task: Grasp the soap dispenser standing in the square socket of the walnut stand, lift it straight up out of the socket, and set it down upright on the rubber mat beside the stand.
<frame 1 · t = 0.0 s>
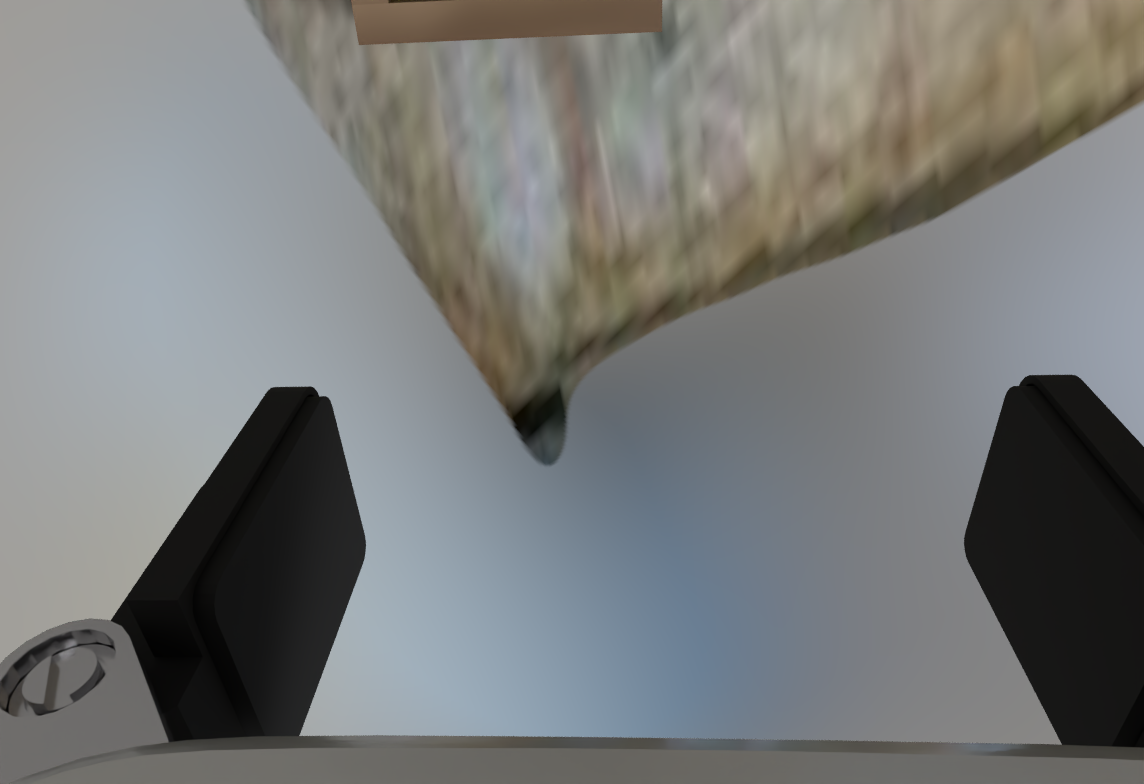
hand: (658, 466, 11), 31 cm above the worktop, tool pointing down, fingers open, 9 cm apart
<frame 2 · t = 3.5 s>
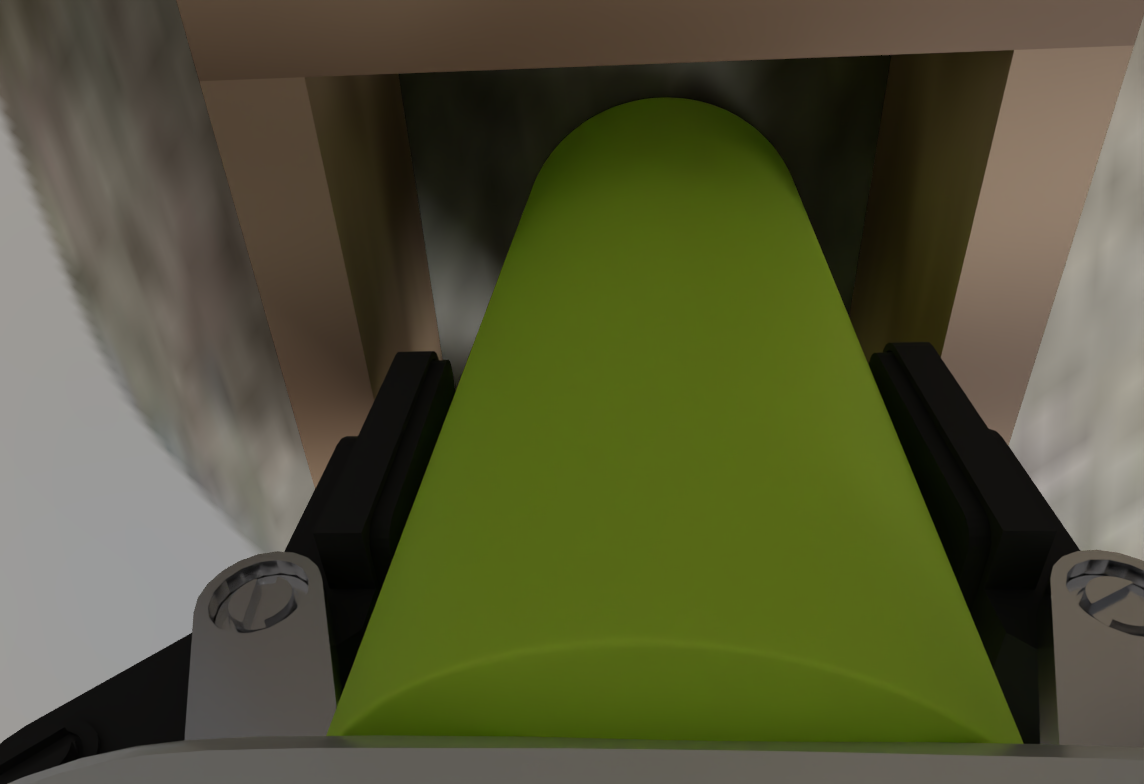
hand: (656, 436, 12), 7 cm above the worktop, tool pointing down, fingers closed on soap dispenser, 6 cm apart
walnut stand: (639, 248, 18), on the worktop
soap dispenser: (640, 246, 18), resting in walnut stand, touching gripper
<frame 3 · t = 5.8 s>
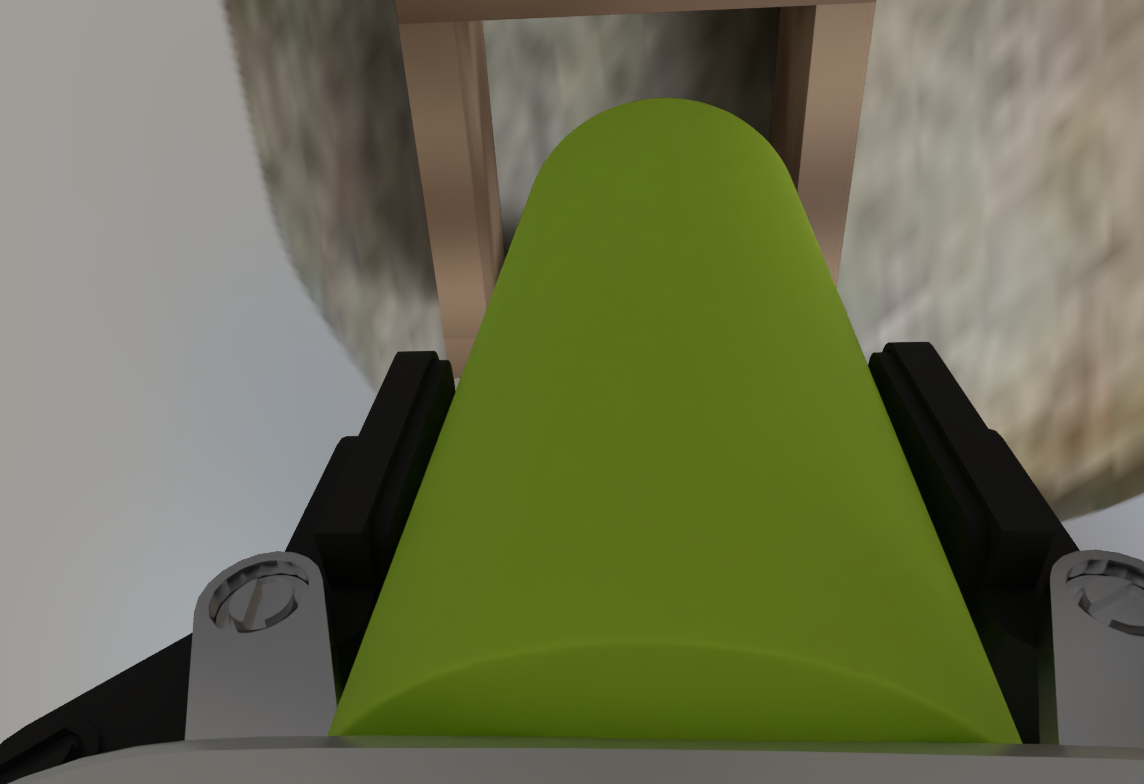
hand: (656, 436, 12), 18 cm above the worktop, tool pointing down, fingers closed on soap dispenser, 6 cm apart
walnut stand: (630, 146, 28), on the worktop
soap dispenser: (639, 246, 18), point 11 cm above the worktop, touching gripper
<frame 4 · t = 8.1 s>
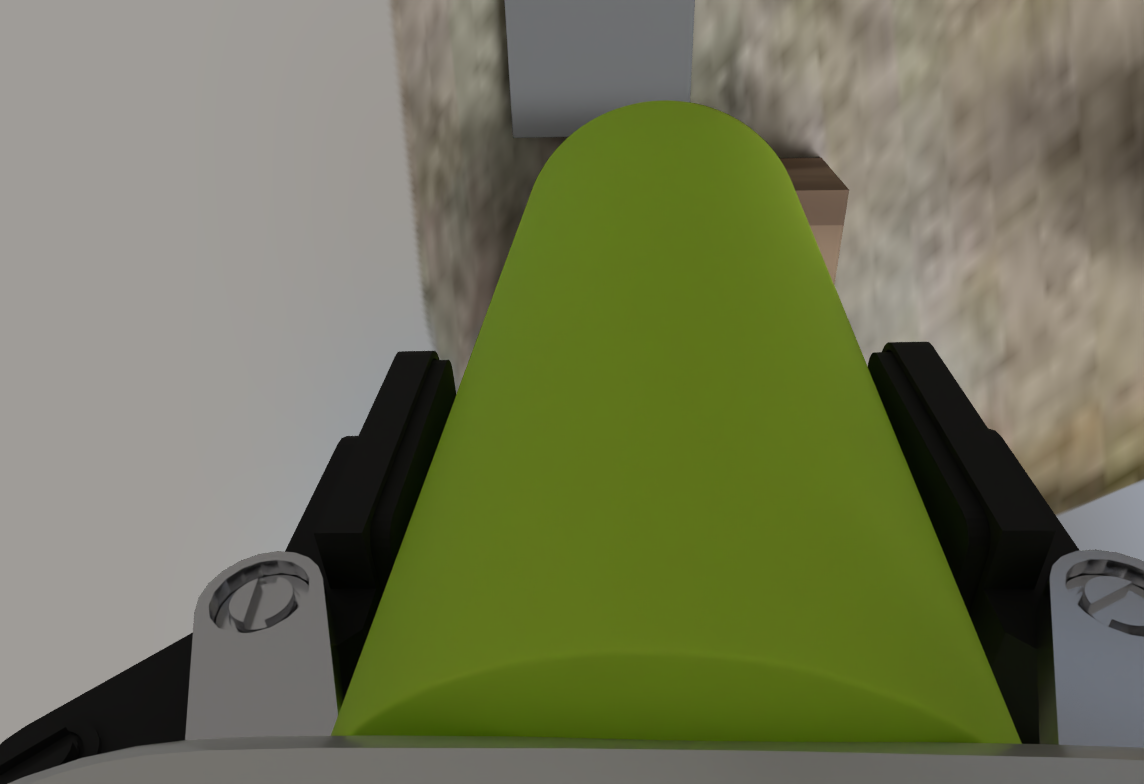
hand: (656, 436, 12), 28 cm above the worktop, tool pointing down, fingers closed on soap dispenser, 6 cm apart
walnut stand: (680, 283, 41), on the worktop
rubber mat: (599, 27, 35), on the worktop
soap dispenser: (639, 249, 18), point 21 cm above the worktop, touching gripper
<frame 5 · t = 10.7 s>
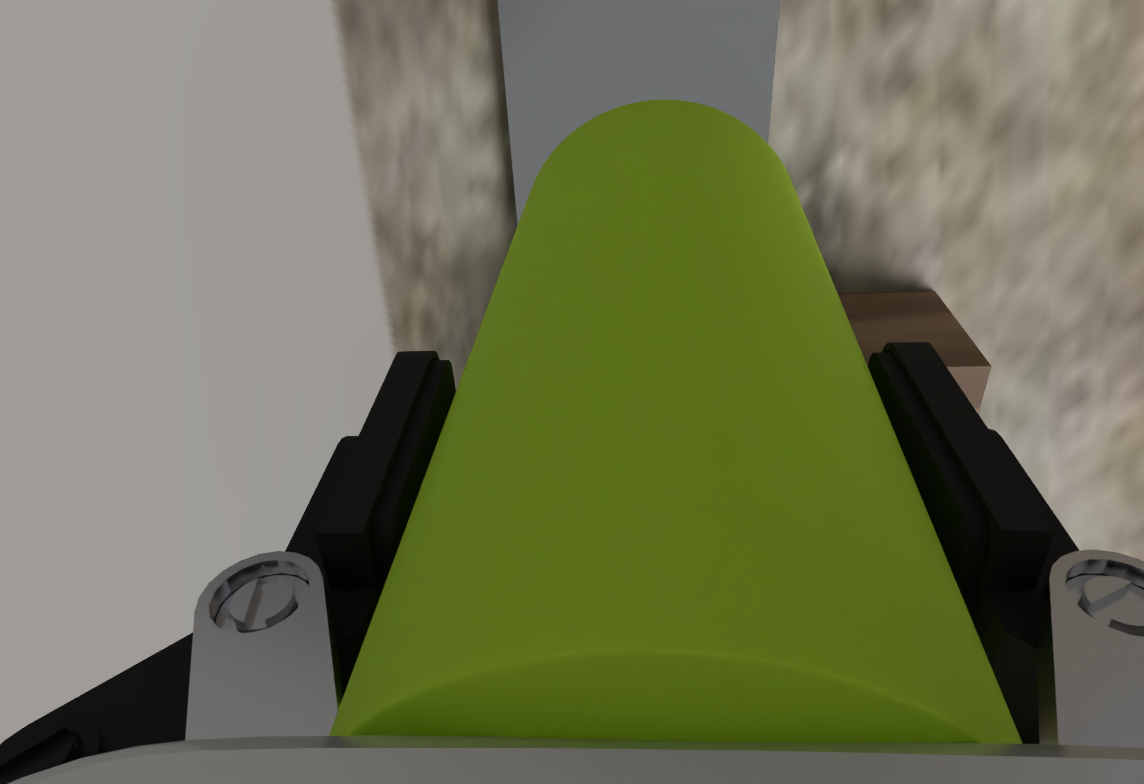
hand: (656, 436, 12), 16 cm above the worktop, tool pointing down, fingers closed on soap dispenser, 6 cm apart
walnut stand: (740, 438, 31), on the worktop
rubber mat: (637, 133, 25), on the worktop
soap dispenser: (639, 248, 18), point 9 cm above the worktop, touching gripper
when the fingers open (8 cm above the worktop, at t = 13.1 s): soap dispenser drops 1 cm, resting on rubber mat.
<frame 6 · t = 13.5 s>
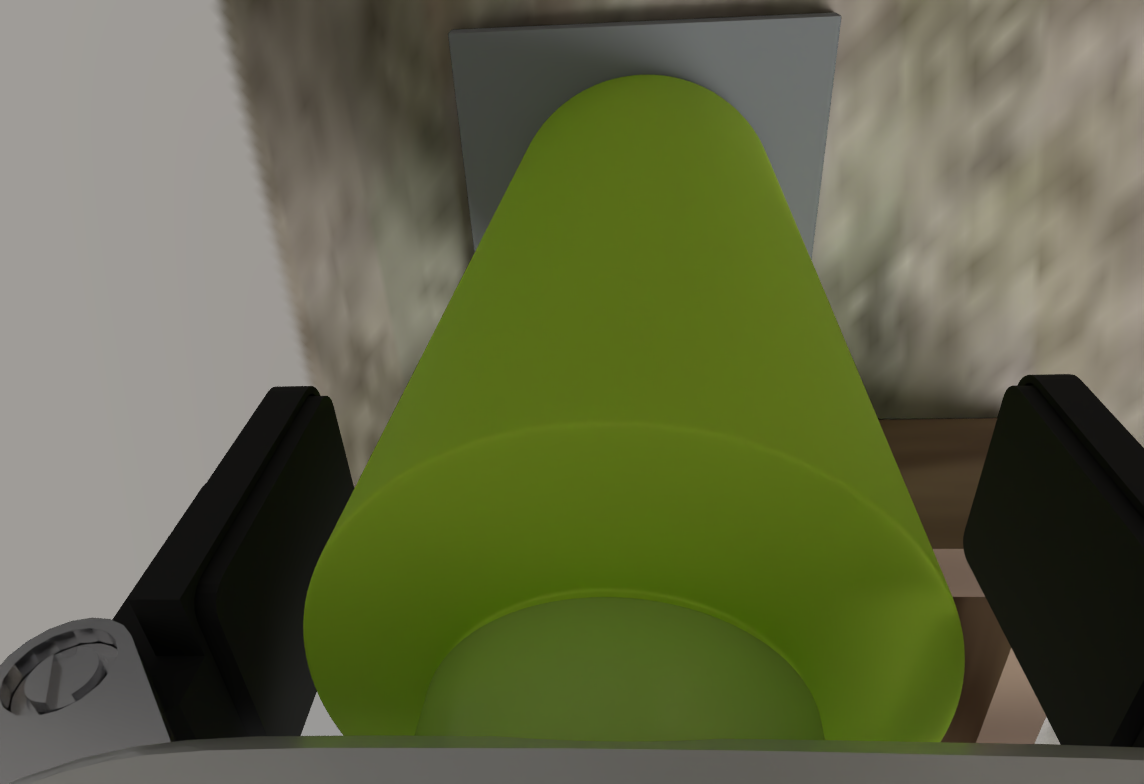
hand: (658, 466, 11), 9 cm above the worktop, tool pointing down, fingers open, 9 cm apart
walnut stand: (767, 582, 25), on the worktop
rubber mat: (641, 226, 19), on the worktop
soap dispenser: (624, 219, 19), resting on rubber mat
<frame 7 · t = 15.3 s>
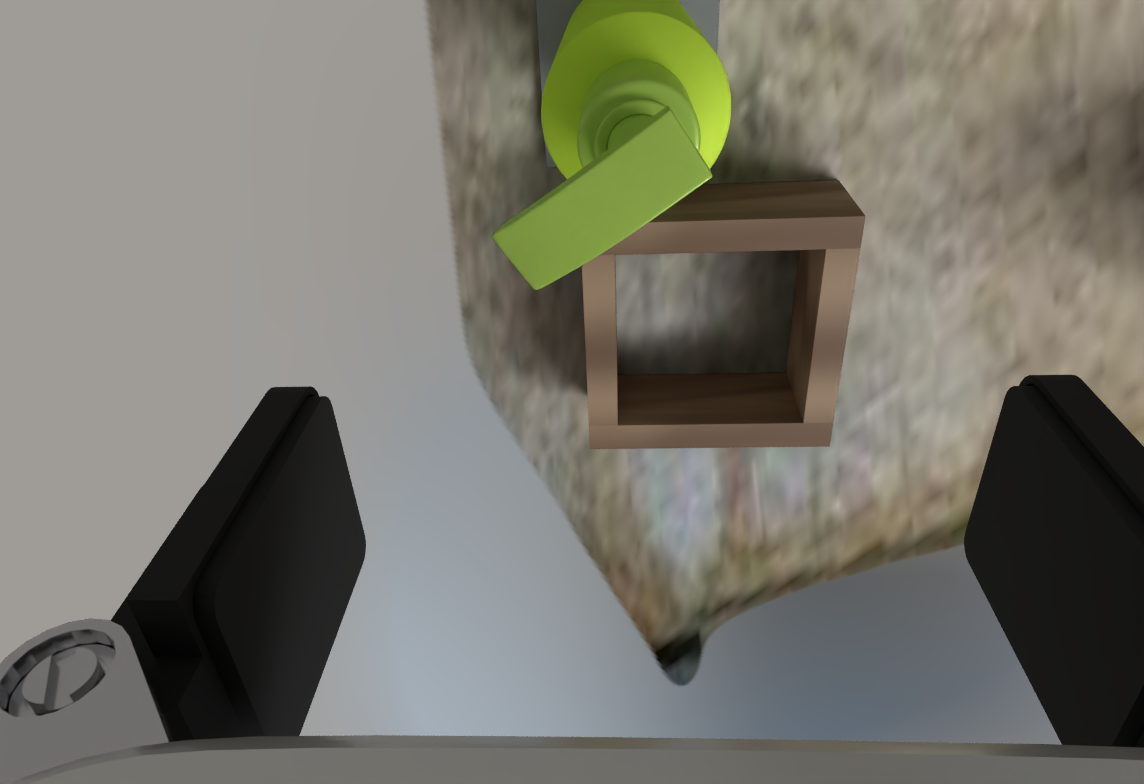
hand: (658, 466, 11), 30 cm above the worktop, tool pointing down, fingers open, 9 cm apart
walnut stand: (704, 298, 43), on the worktop
rubber mat: (627, 64, 37), on the worktop
soap dispenser: (618, 58, 36), resting on rubber mat
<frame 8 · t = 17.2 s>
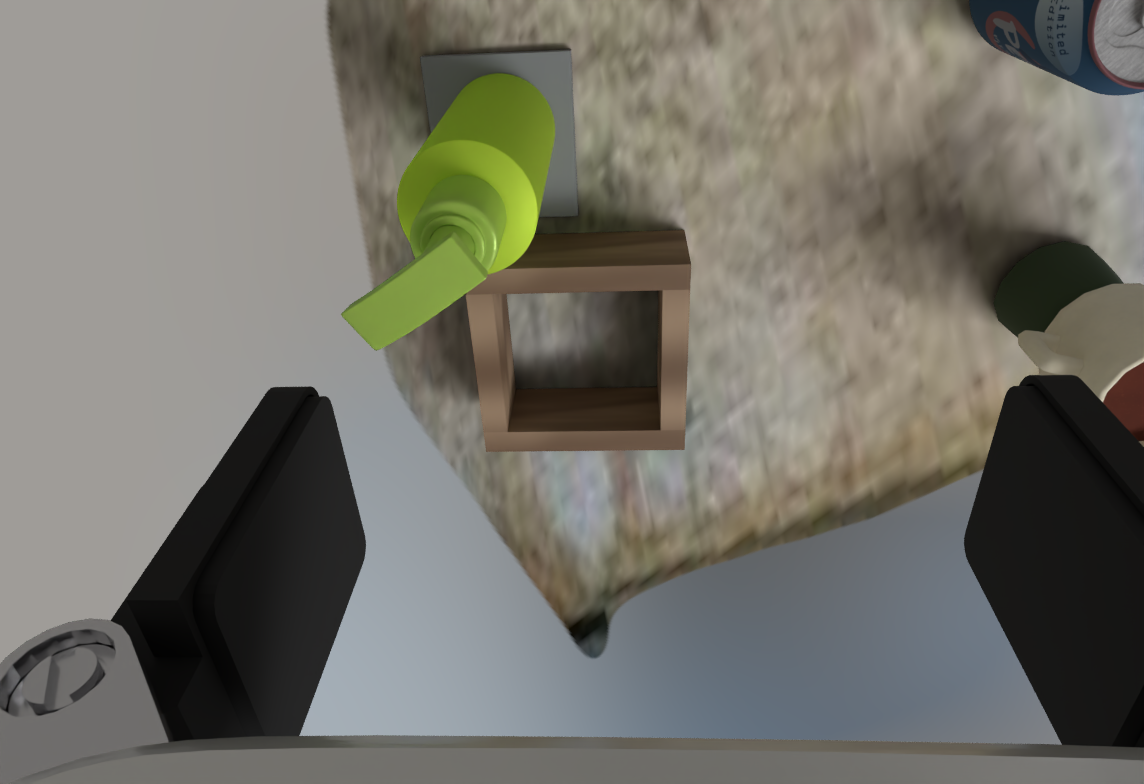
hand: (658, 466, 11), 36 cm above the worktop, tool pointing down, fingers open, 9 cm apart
walnut stand: (583, 325, 51), on the worktop
rubber mat: (503, 138, 45), on the worktop
soap dispenser: (495, 133, 45), resting on rubber mat
character mug: (1043, 285, 48), on the worktop
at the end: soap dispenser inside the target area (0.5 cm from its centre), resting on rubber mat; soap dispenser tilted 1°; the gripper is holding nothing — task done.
